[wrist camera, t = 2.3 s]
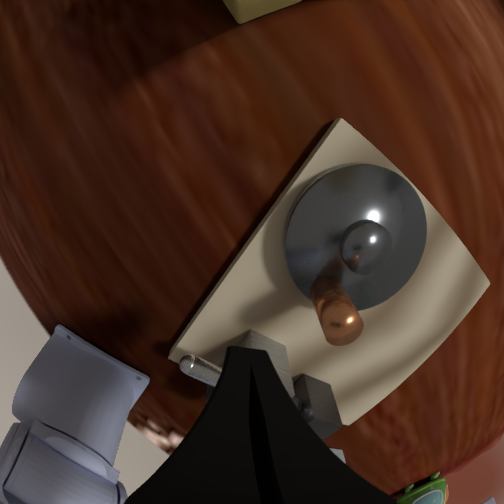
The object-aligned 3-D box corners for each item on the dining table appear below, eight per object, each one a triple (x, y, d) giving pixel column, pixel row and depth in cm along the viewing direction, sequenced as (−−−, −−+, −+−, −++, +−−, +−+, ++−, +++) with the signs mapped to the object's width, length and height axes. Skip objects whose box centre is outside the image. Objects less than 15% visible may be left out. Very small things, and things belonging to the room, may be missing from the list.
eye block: (207, 377, 21) (202, 424, 17) (250, 328, 19) (253, 379, 15) (240, 390, 22) (240, 437, 17) (285, 345, 20) (294, 395, 16)
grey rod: (176, 349, 20) (165, 395, 15) (195, 322, 19) (186, 370, 14) (307, 403, 23) (315, 444, 18) (330, 384, 22) (343, 426, 17)
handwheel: (251, 257, 17) (255, 304, 12) (345, 130, 14) (387, 130, 10) (357, 321, 19) (383, 370, 14) (438, 221, 16) (485, 250, 12)
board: (170, 349, 21) (167, 358, 20) (335, 118, 15) (341, 118, 14) (346, 418, 26) (348, 425, 25) (484, 278, 20) (490, 283, 19)
